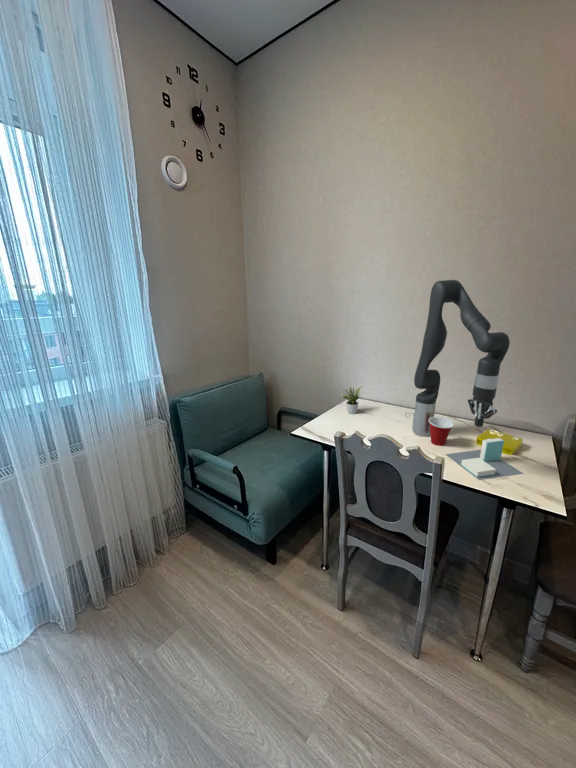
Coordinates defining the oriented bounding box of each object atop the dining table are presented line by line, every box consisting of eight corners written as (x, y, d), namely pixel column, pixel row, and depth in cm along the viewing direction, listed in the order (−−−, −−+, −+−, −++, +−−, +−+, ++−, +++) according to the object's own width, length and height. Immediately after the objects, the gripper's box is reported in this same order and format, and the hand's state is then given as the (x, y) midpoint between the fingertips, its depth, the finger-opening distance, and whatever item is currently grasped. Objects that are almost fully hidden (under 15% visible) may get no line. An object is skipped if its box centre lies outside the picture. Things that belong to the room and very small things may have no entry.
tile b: (479, 458, 137) (482, 440, 134) (495, 456, 138) (499, 437, 135) (484, 461, 134) (487, 442, 132) (500, 459, 136) (504, 440, 133)
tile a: (461, 460, 132) (477, 472, 123) (478, 457, 133) (495, 469, 124) (461, 465, 132) (477, 477, 124) (477, 462, 134) (494, 474, 125)
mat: (445, 455, 141) (445, 454, 141) (484, 450, 145) (484, 448, 144) (478, 481, 123) (479, 480, 122) (523, 475, 126) (523, 473, 126)
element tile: (474, 445, 150) (475, 436, 148) (487, 436, 159) (488, 427, 157) (510, 458, 139) (512, 448, 137) (522, 447, 147) (524, 437, 146)
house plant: (351, 405, 202) (352, 381, 197) (369, 411, 192) (370, 386, 187) (336, 411, 193) (336, 386, 188) (354, 418, 183) (355, 391, 178)
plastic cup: (443, 452, 144) (446, 428, 140) (421, 443, 152) (423, 420, 149) (455, 445, 150) (458, 421, 147) (433, 437, 158) (436, 414, 155)
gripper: (464, 380, 127) (458, 420, 132) (490, 391, 114) (482, 434, 120) (481, 379, 128) (474, 418, 133) (508, 389, 116) (499, 432, 121)
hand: (478, 426), depth 127 cm, fingers closed
